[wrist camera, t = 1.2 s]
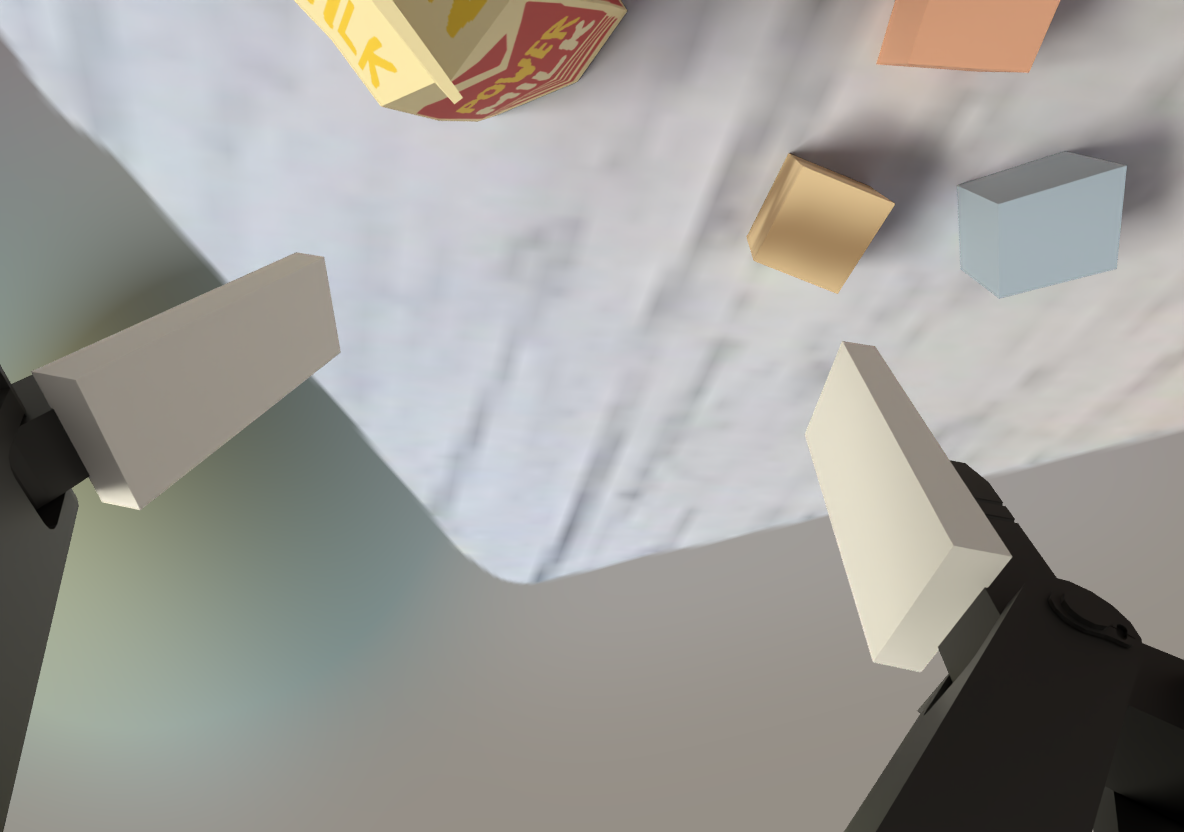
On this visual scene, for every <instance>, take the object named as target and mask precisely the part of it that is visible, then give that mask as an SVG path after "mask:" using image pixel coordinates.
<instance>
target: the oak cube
mask: <svg viewBox="0 0 1184 832" xmlns="http://www.w3.org/2000/svg"><path fill="white" fill-rule="evenodd" d="M894 205H895V203H893V202H892V201H890V200H889V199H887V198H886V197H884V196H883V195H882V194H880V193H879V192H877V191H876V190H874V189H873V188H871V187H870V186H868V185H866V184H863V183H861V182H858V181H856V180H853V179H851V178H848V177H846V176H843V175H841V174H839V173H836V172H834V171H831V170H829V169H826V168H824V167H821V166H819V165H816V164H814V163H812V162H809V161H807V160H804V159H802V158H799V157H797V156H794V155H792V154H788V156H787V158H786V160H785V162H784V163H783V165H782V167H781V169H780V171H779V173H778V175H777V177H776V179H775V181H774V183H773V185H772V187H771V189H770V191H769V193H768V195H767V197H766V199H765V201H764V203H763V205H762V207H761V209H760V211H759V213H758V215H757V217H756V219H755V221H754V223H753V225H752V227H751V229H750V231H749V233H748V235H747V240H748V243H749V247H750V250H751V253H752V257H753V260H754V261H756V262H758V263H761V264H763V265H766V266H768V267H771V268H774V269H776V270H779V271H781V272H784V273H786V274H789V275H791V276H794V277H796V278H799V279H801V280H804V281H806V282H809V283H811V284H814V285H816V286H819V287H821V288H824V289H827V290H829V291H832V292H834V293H837V294H838V292H839V291H840V289H841V288H842V286H843V285H844V283H845V282H846V280H847V278H848V277H849V275H850V274H851V272H852V271H853V269H854V267H855V266H856V264H857V263H858V261H859V260H860V258H861V257H862V255H863V253H864V252H865V250H866V249H867V247H868V246H869V244H870V243H871V241H872V239H873V238H874V236H875V235H876V233H877V232H878V230H879V229H880V227H881V225H882V224H883V222H884V221H885V219H886V218H887V216H888V214H889V213H890V211H891V210H892V208H893V207H894Z"/></svg>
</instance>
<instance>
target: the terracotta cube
mask: <svg viewBox="0 0 1184 832" xmlns="http://www.w3.org/2000/svg"><path fill="white" fill-rule="evenodd" d="M1059 2H1060V0H895V3H894V7H893V10H892V13H891V17H890V20H889V24H888V27H887V30H886V34H885V37H884V40H883V44H882V47H881V50H880V54H879V57H878V60H877V64H880V65H894V66H908V67H922V68H936V69H950V70H964V71H978V72H1029V71H1030V69H1031V67H1032V64H1033V62H1034V60H1035V57H1036V55H1037V53H1038V51H1039V48H1040V46H1041V44H1042V41H1043V39H1044V37H1045V34H1046V32H1047V30H1048V28H1049V25H1050V23H1051V21H1052V18H1053V16H1054V14H1055V11H1056V9H1057V7H1058V5H1059Z"/></svg>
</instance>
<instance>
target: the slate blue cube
mask: <svg viewBox="0 0 1184 832" xmlns="http://www.w3.org/2000/svg"><path fill="white" fill-rule="evenodd" d="M1126 169H1127V165H1123V164H1119V163H1114V162H1110V161H1106V160H1101V159H1097V158H1092V157H1088V156H1084V155H1079V154H1075V153H1071V152H1066V151H1064V152H1060V153H1057V154H1054V155H1051V156H1048V157H1045V158H1042V159H1039V160H1035V161H1032V162H1029V163H1026V164H1023V165H1020V166H1017V167H1013V168H1010V169H1007V170H1004V171H1001V172H998V173H995V174H991V175H988V176H985V177H982V178H979V179H976V180H973V181H970V182H966V183H963V184H960V185H957V197H958V219H959V242H960V264H961V270H962V271H964V272H965V273H966V274H968V275H969V276H970V277H972V278H973V279H974V280H975V281H977V282H978V283H979V284H981V285H982V286H983V287H985V288H986V289H987V290H989V291H990V292H991V293H993V294H994V295H995V296H996V297H998V298H999V299H1000V298H1004V297H1007V296H1011V295H1015V294H1019V293H1023V292H1027V291H1031V290H1035V289H1039V288H1043V287H1047V286H1051V285H1055V284H1059V283H1063V282H1067V281H1071V280H1075V279H1079V278H1082V277H1086V276H1090V275H1094V274H1098V273H1102V272H1106V271H1110V270H1114V269H1117V260H1118V250H1119V240H1120V230H1121V220H1122V210H1123V200H1124V190H1125V179H1126Z"/></svg>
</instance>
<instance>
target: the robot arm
mask: <svg viewBox="0 0 1184 832" xmlns="http://www.w3.org/2000/svg"><path fill="white" fill-rule="evenodd" d="M339 353H341V352H340V346H339V340H338V334H337V329H336V323H335V317H334V311H333V306H332V300H331V294H330V288H329V283H328V277H327V271H326V265H325V260H324V257H321V256H315V255H309V254H303V253H297V252H296V253H294V254H292V255H289V256H287V257H285V258H283V259H280V260H278V261H276V262H274V263H272V264H269V265H267V266H265V267H263V268H260V269H258V270H256V271H254V272H252V273H249V274H247V275H245V276H243V277H240V278H238V279H236V280H234V281H231V282H229V283H227V284H225V285H223V286H220V287H218V288H216V289H214V290H211V291H209V292H207V293H205V294H203V295H201V296H198V297H196V298H194V299H191V300H190V301H187V302H185V303H183V304H180V305H178V306H176V307H174V308H171V309H169V310H167V311H165V312H162V313H160V314H158V315H156V316H154V317H151V318H149V319H147V320H145V321H142V322H140V323H138V324H136V325H133V326H132V327H129V328H127V329H125V330H122V331H120V332H118V333H116V334H114V335H111V336H109V337H107V338H105V339H102V340H100V341H98V342H96V343H93V344H91V345H89V346H87V347H84V348H82V349H80V350H78V351H76V352H73V353H71V354H69V355H67V356H65V357H62V358H60V359H58V360H56V361H53V362H51V363H49V364H47V365H45V366H42V367H41V368H38V369H36V370H33V371H31V372H32V374H33V375H31V376H28V377H26V378H24V379H22V380H20V381H17V382H15V383H13V384H11V383H10V381H9V380H8V378H7V376H6V374H5V372H4V371H3V369H2V367H1V365H0V832H3V830H4V826H5V822H6V817H7V813H8V808H9V804H10V800H11V796H12V791H13V787H14V783H15V778H16V774H17V770H18V765H19V761H20V757H21V753H22V748H23V744H24V739H25V735H26V731H27V726H28V722H29V718H30V713H31V709H32V705H33V700H34V696H35V692H36V687H37V683H38V679H39V675H40V670H41V666H42V662H43V658H44V653H45V649H46V644H47V640H48V636H49V632H50V627H51V623H52V619H53V614H54V610H55V606H56V601H57V597H58V593H59V588H60V584H61V580H62V575H63V571H64V567H65V562H66V558H67V554H68V550H69V545H70V541H71V537H72V532H73V528H74V524H75V519H76V515H77V511H78V500H77V497H76V495H75V494H74V492H73V490H72V489H71V488H72V487H74V486H75V485H77V484H78V483H80V482H81V481H83V480H84V479H86V478H87V477H89V479H90V481H91V482H92V484H93V486H94V488H95V490H96V492H97V493H98V495H99V497H100V499H101V500H102V502H105V503H109V504H114V505H119V506H124V507H128V508H133V509H138V510H141V509H142V508H143V507H145V506H146V505H147V504H148V503H150V502H151V501H152V500H153V499H155V498H156V497H157V496H159V495H160V494H161V493H163V492H164V491H165V490H166V489H168V488H169V487H170V486H171V485H173V484H174V483H175V482H176V481H178V480H179V479H180V478H181V477H183V476H184V475H185V474H187V473H188V472H189V471H190V470H192V469H193V468H194V467H196V466H197V465H198V464H199V463H201V462H202V461H203V460H204V459H206V458H207V457H208V456H210V455H211V454H212V453H213V452H215V451H216V450H217V449H218V448H220V447H221V446H222V445H223V444H225V443H226V442H227V441H229V440H230V439H231V438H232V437H234V436H235V435H236V434H238V433H239V432H240V431H241V430H242V429H244V428H245V427H246V426H248V425H249V424H250V423H252V422H253V421H254V420H255V419H257V418H258V417H259V416H260V415H262V414H263V413H264V412H266V411H267V410H268V409H269V408H271V407H272V406H273V405H274V404H276V403H277V402H278V401H280V400H281V399H282V398H283V397H285V396H286V395H287V394H288V393H290V392H291V391H292V390H293V389H295V388H296V387H297V386H299V385H300V384H301V383H302V382H304V381H305V380H306V379H308V378H309V377H310V376H311V375H313V374H314V373H315V372H316V371H318V370H319V369H320V368H322V367H323V366H324V365H325V364H327V363H328V362H329V361H330V360H332V359H333V358H334V357H335V356H337V355H338V354H339ZM805 437H806V440H807V444H808V447H809V450H810V454H811V457H812V460H813V464H814V467H815V470H816V474H817V477H818V480H819V484H820V487H821V490H822V494H823V497H824V500H825V504H826V507H827V510H828V514H829V517H830V520H831V524H832V527H833V530H834V533H835V537H836V540H837V544H838V547H839V550H840V554H841V557H842V560H843V564H844V567H845V570H846V574H847V577H848V580H849V584H850V587H851V590H852V593H853V597H854V601H855V604H856V607H857V610H858V614H859V617H860V621H861V624H862V627H863V630H864V634H865V637H866V640H867V644H868V647H869V651H870V654H871V657H872V661H873V662H875V663H879V664H884V665H888V666H893V667H898V668H903V669H908V670H913V671H918V672H922V671H923V669H924V668H925V667H926V665H927V664H928V663H929V662H930V660H931V659H932V658H933V657H934V655H935V654H936V653H937V651H938V650H939V651H940V654H941V656H942V658H943V661H944V663H945V665H946V668H947V670H948V673H949V674H948V675H947V676H946V677H945V679H944V680H943V681H942V682H941V683H940V685H939V686H938V687H937V688H936V690H935V691H934V692H933V693H932V694H931V695H930V696H929V698H928V699H927V700H926V701H925V702H924V704H923V705H922V706H921V707H920V708H919V709H918V712H919V713H920V715H919V717H918V718H917V720H916V722H915V723H914V725H913V726H912V728H911V729H910V731H909V732H908V734H907V735H906V737H905V738H904V740H903V742H902V743H901V745H900V746H899V748H898V749H897V751H896V752H895V754H894V755H893V757H892V759H891V760H890V762H889V763H888V765H887V766H886V768H885V769H884V771H883V773H882V774H881V776H880V777H879V779H878V780H877V782H876V783H875V785H874V786H873V788H872V789H871V791H870V793H869V794H868V796H867V797H866V799H865V800H864V802H863V804H862V805H861V806H860V808H859V810H858V811H857V813H856V814H855V816H854V817H853V819H852V820H851V822H850V823H849V825H848V827H847V828H846V830H845V831H844V832H1092V830H1094V832H1184V660H1182V659H1180V658H1178V657H1175V656H1173V655H1170V654H1168V653H1165V652H1163V651H1160V650H1158V649H1155V648H1153V647H1151V646H1148V645H1145V644H1143V643H1142V640H1141V637H1140V636H1139V635H1138V633H1137V631H1136V630H1135V629H1134V627H1133V626H1132V624H1131V622H1130V621H1128V620H1127V619H1126V618H1125V617H1124V616H1123V615H1122V614H1121V613H1120V612H1119V611H1118V610H1117V609H1115V608H1114V607H1113V606H1112V605H1111V604H1109V603H1108V602H1106V601H1105V600H1103V599H1102V598H1100V597H1098V596H1097V595H1096V594H1094V593H1093V592H1091V591H1089V590H1087V589H1085V588H1082V587H1080V586H1078V585H1076V584H1074V583H1072V582H1070V581H1066V580H1062V579H1058V578H1056V576H1055V575H1054V573H1053V572H1052V571H1051V569H1050V568H1049V566H1048V565H1047V564H1046V562H1045V561H1044V559H1043V558H1042V557H1041V555H1040V554H1039V552H1038V551H1037V550H1036V548H1035V547H1034V545H1033V544H1032V542H1031V541H1030V540H1029V538H1028V537H1027V535H1026V534H1025V533H1024V531H1023V530H1022V528H1021V527H1020V526H1019V524H1018V523H1014V520H1015V519H1014V517H1013V516H1012V514H1011V513H1010V512H1009V510H1008V509H1007V508H1006V506H1002V503H1003V502H1002V500H1001V499H1000V498H999V496H998V495H997V493H996V492H995V491H994V489H993V488H992V486H991V485H990V484H989V482H988V481H986V480H985V479H984V478H983V477H981V476H980V475H979V474H978V473H977V472H975V471H974V470H973V469H972V468H970V467H969V466H968V465H967V464H966V463H962V462H956V461H950V460H949V459H948V457H947V456H946V454H945V453H944V451H943V450H942V448H941V447H940V445H939V443H938V442H937V440H936V439H935V437H934V436H933V434H932V433H931V431H930V430H929V428H928V427H927V425H926V424H925V422H924V421H923V419H922V417H921V416H920V414H919V413H918V411H917V410H916V408H915V407H914V405H913V404H912V402H911V401H910V399H909V398H908V396H907V394H906V393H905V391H904V390H903V388H902V387H901V385H900V384H899V382H898V381H897V379H896V378H895V376H894V375H893V373H892V371H891V370H890V368H889V367H888V365H887V364H886V362H885V361H884V359H883V358H882V356H881V355H880V353H879V352H878V350H877V348H876V347H875V346H870V345H863V344H857V343H851V342H845V341H842V343H841V346H840V348H839V351H838V353H837V356H836V358H835V360H834V363H833V365H832V368H831V370H830V373H829V375H828V378H827V380H826V383H825V385H824V388H823V390H822V393H821V395H820V398H819V400H818V403H817V405H816V408H815V410H814V413H813V415H812V418H811V420H810V423H809V425H808V428H807V430H806V433H805Z"/></svg>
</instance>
